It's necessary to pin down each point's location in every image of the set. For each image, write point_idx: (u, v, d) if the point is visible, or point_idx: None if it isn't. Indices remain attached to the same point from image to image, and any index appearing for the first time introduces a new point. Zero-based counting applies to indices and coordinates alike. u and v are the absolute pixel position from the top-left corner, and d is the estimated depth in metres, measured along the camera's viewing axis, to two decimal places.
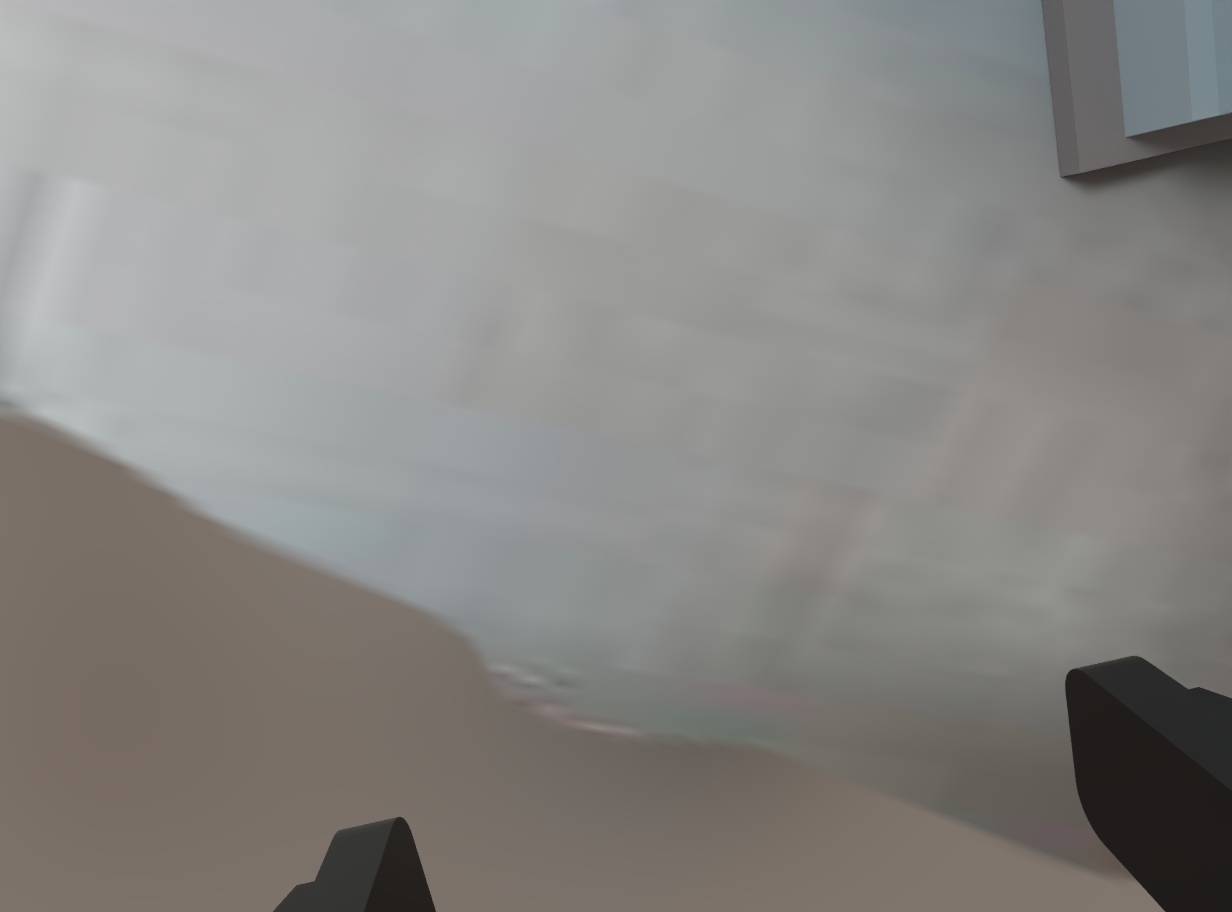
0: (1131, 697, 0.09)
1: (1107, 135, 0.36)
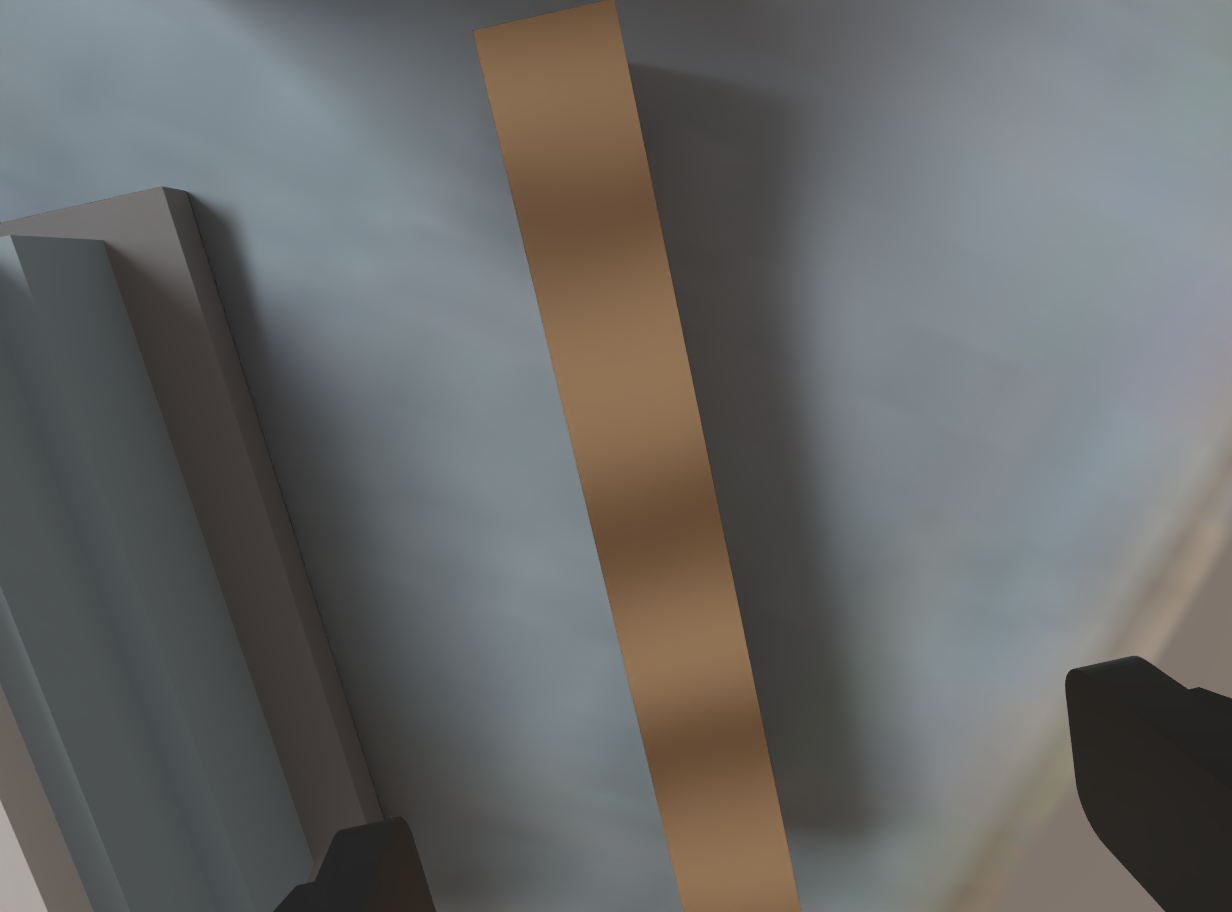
0: (1131, 697, 0.09)
1: None
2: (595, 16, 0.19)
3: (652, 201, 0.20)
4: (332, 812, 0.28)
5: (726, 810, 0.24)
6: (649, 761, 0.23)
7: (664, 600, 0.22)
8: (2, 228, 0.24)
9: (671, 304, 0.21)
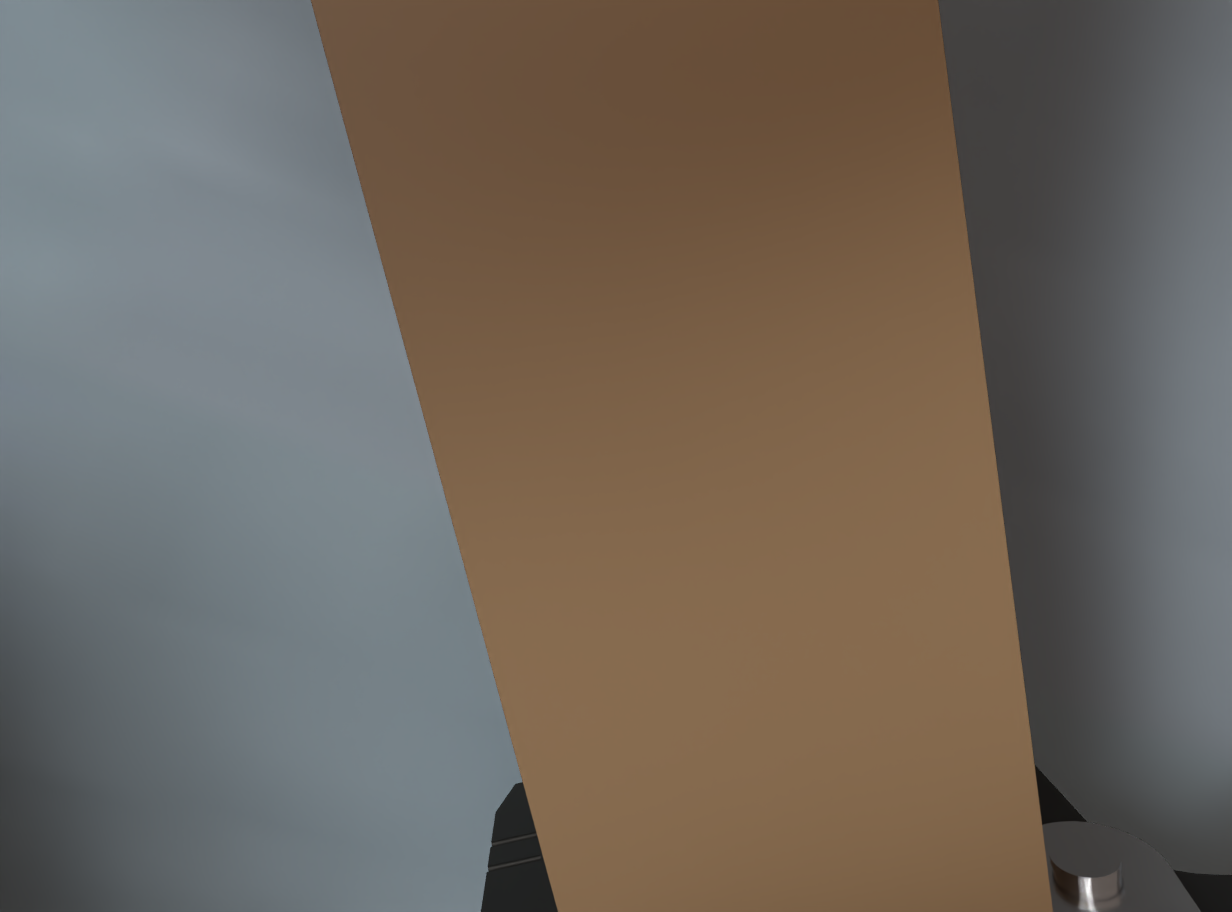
0: None
1: None
2: None
3: None
4: None
5: None
6: None
7: None
8: None
9: (969, 423, 0.05)
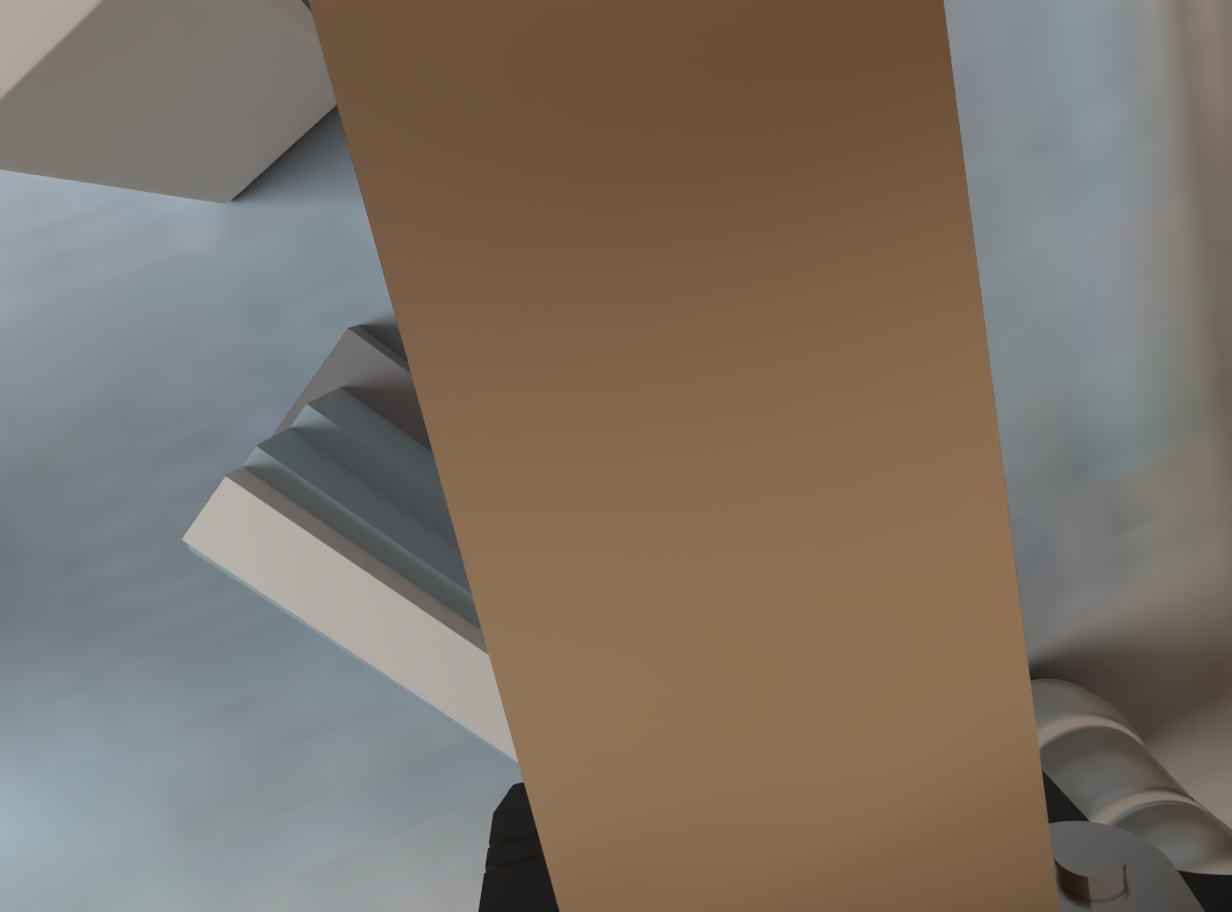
0: None
1: None
2: None
3: None
4: None
5: None
6: None
7: None
8: (285, 425, 0.33)
9: (975, 426, 0.05)
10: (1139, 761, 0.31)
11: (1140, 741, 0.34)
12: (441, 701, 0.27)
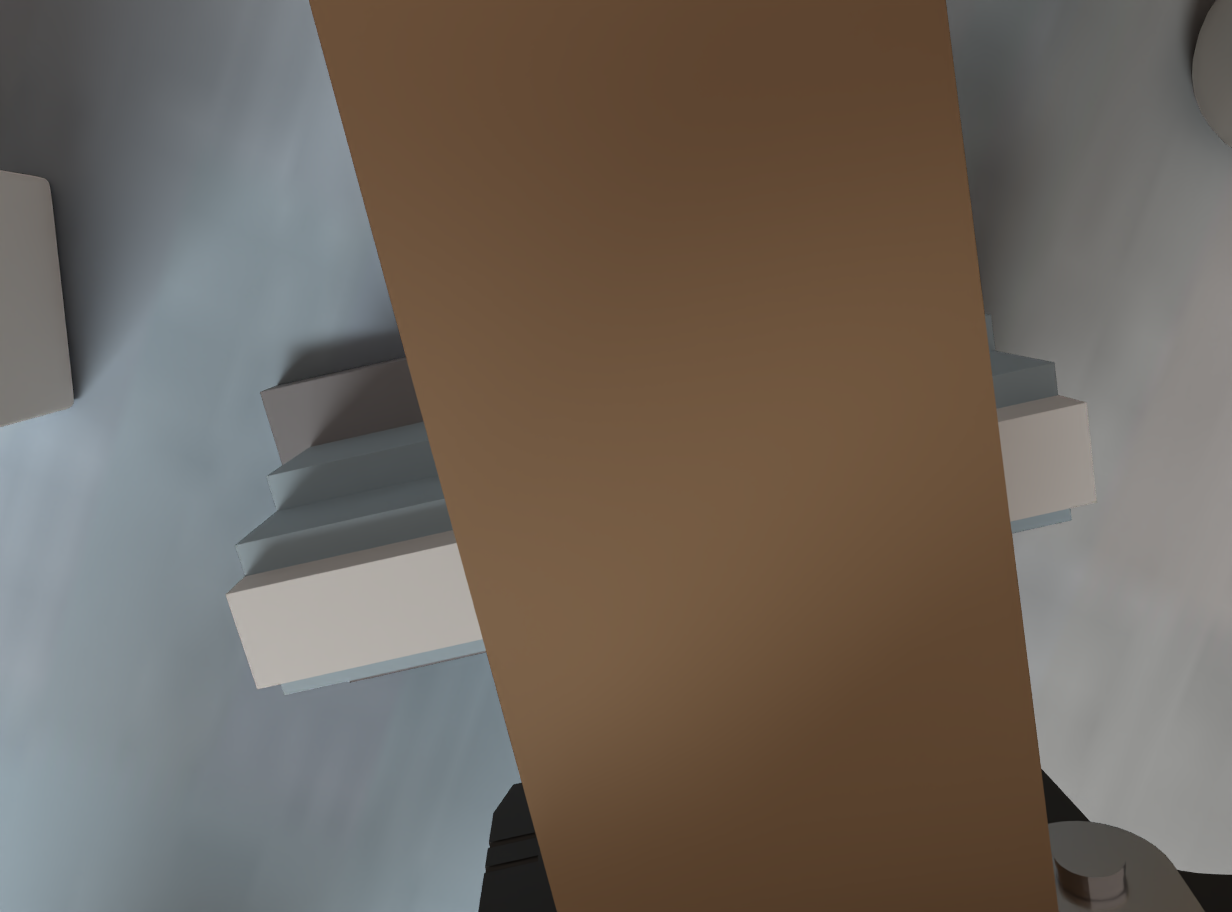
0: None
1: None
2: None
3: None
4: None
5: None
6: None
7: None
8: None
9: (976, 431, 0.05)
10: None
11: None
12: None
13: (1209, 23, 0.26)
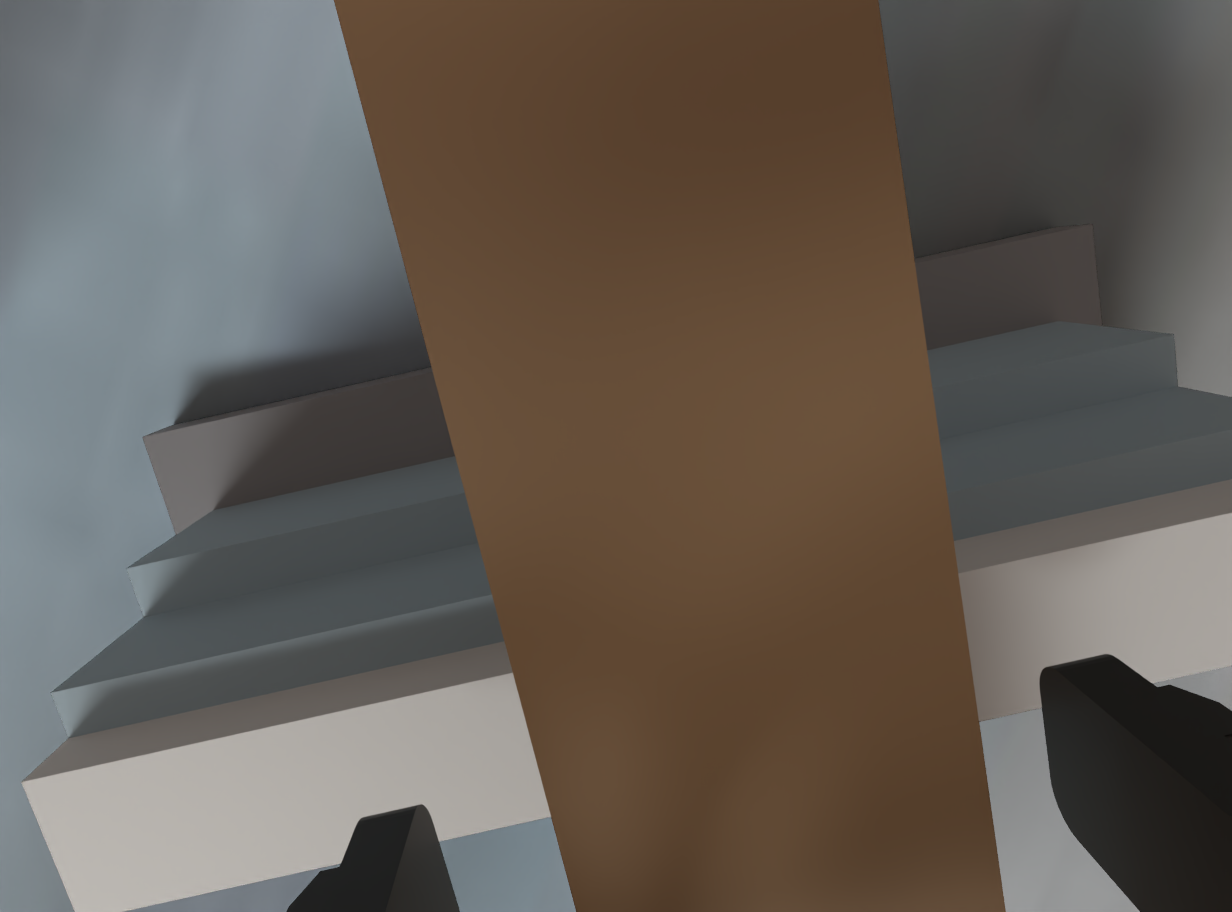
0: (1101, 694, 0.09)
1: None
2: None
3: (872, 32, 0.05)
4: (982, 290, 0.20)
5: None
6: None
7: None
8: None
9: (916, 412, 0.06)
10: None
11: None
12: None
13: None
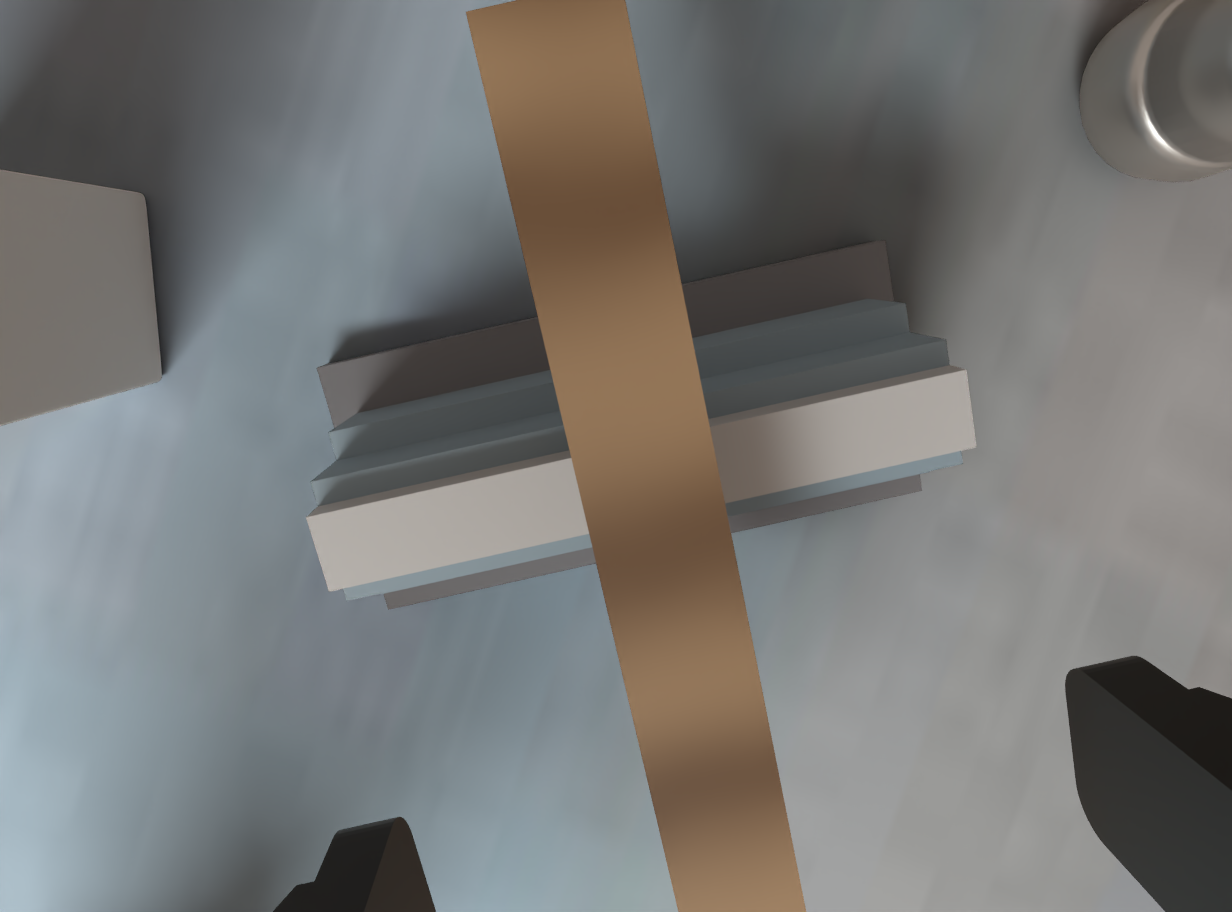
0: (1131, 697, 0.09)
1: None
2: None
3: (661, 199, 0.19)
4: (820, 279, 0.33)
5: (737, 853, 0.22)
6: (654, 800, 0.22)
7: (671, 629, 0.21)
8: None
9: (681, 310, 0.19)
10: None
11: None
12: None
13: (1089, 66, 0.32)
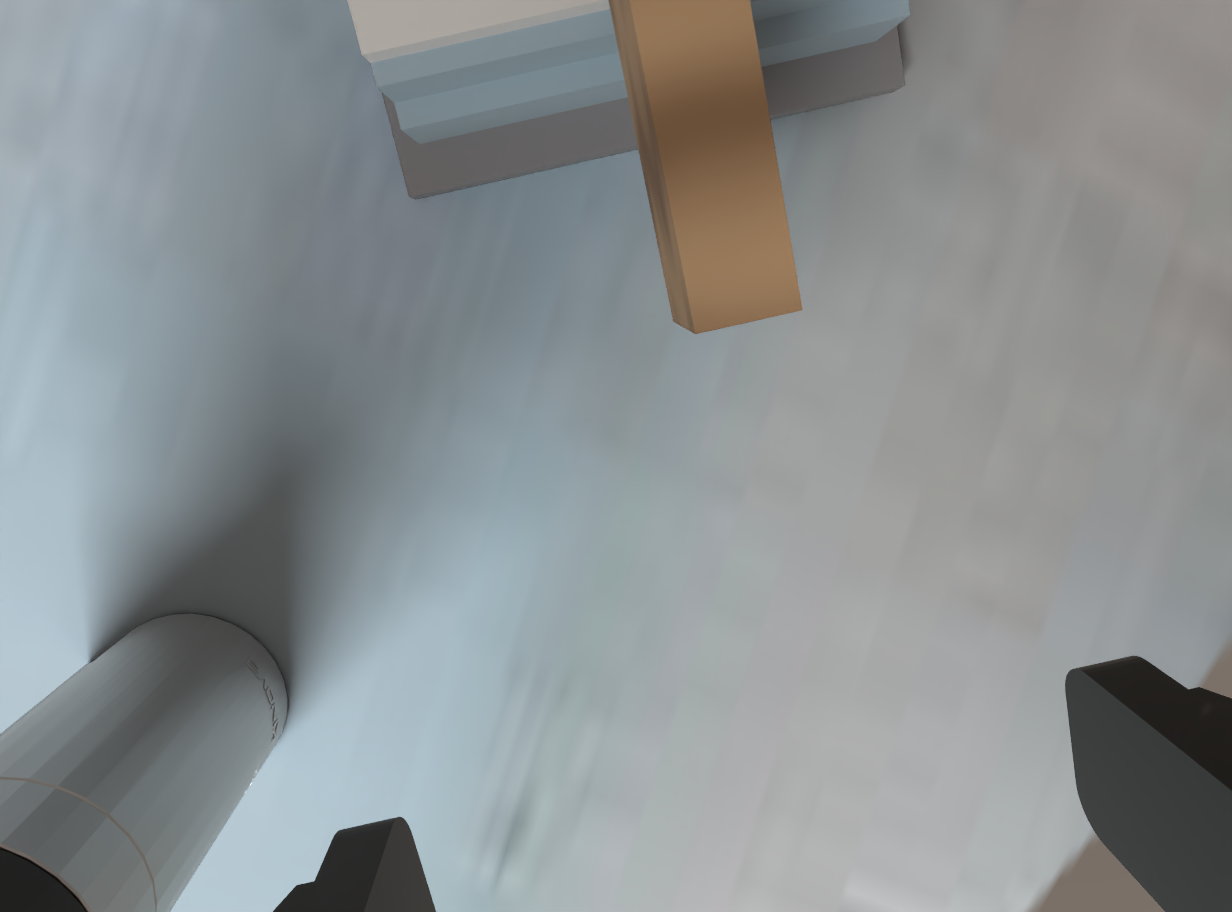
0: (1131, 697, 0.09)
1: (872, 60, 0.38)
2: None
3: None
4: None
5: (731, 193, 0.25)
6: (658, 136, 0.24)
7: None
8: None
9: None
10: None
11: None
12: None
13: None
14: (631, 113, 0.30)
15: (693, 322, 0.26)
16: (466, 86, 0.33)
